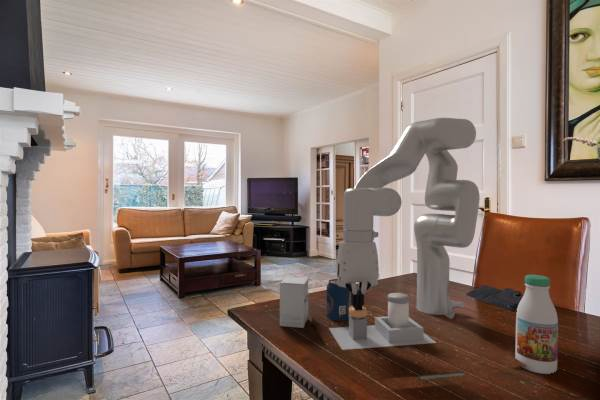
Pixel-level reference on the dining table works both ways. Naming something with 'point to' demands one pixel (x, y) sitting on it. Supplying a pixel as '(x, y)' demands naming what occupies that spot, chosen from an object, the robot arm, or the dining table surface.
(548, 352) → the milk bottle
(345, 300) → the soda can
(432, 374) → the mat
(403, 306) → the cartridge
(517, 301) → the dark slate chunk
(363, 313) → the brown egg
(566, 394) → the dining table surface
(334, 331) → the housing
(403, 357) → the dining table surface
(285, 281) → the supplement box
